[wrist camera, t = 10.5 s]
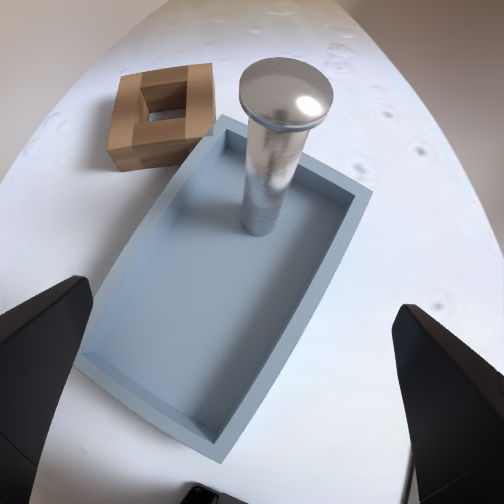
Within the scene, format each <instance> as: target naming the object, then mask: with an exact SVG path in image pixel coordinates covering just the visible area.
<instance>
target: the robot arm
mask: <svg viewBox="0 0 504 504" xmlns="http://www.w3.org/2000/svg"><path fill="white" fill-rule="evenodd" d="M92 308H93V297H92V293H91V289H90V285H89V281H88V279H87V278H86V277H84V276H77V275H74V276H72V277H70V278H68V279H66V280H64V281H62V282H60V283H58V284H56V285H55V286H53V287H51V288H49V289H47V290H45V291H43V292H41V293H40V294H38V295H36V296H34V297H32V298H30V299H29V300H27V301H25V302H23V303H21V304H20V305H18V306H16V307H14V308H12V309H11V310H9V311H7V312H5V313H4V314H2V315H0V504H29V500H30V496H31V492H32V488H33V484H34V480H35V476H36V472H37V467H38V464H39V461H40V457H41V454H42V450H43V447H44V444H45V440H46V437H47V434H48V431H49V428H50V425H51V422H52V419H53V416H54V413H55V410H56V407H57V405H58V402H59V399H60V396H61V394H62V391H63V388H64V386H65V383H66V381H67V378H68V375H69V373H70V370H71V368H72V366H73V363H74V361H75V358H76V356H77V353H78V351H79V348H80V345H81V342H82V339H83V336H84V332H85V329H86V326H87V323H88V320H89V317H90V314H91V311H92ZM392 339H393V345H394V352H395V360H396V368H397V375H398V380H399V385H400V389H401V394H402V399H403V403H404V408H405V413H406V418H407V423H408V429H409V434H410V440H411V446H412V452H413V458H414V465H415V472H416V480H417V488H418V496H419V504H504V376H503V375H502V374H501V373H500V372H499V371H497V370H496V369H495V368H494V367H493V366H492V365H490V364H489V363H488V362H487V361H486V360H484V359H483V358H482V357H481V356H480V355H478V354H477V353H476V352H475V351H474V350H472V349H471V348H470V347H469V346H467V345H466V344H465V343H464V342H463V341H461V340H460V339H459V338H458V337H456V336H455V335H454V334H453V333H451V332H450V331H449V330H448V329H446V328H445V327H444V326H443V325H441V324H440V323H439V322H437V321H436V320H435V319H434V318H432V317H431V316H430V315H428V314H427V313H426V312H425V311H423V310H422V309H421V308H419V307H418V306H417V305H415V304H403V305H402V306H401V307H400V309H399V311H398V314H397V316H396V318H395V321H394V323H393V326H392ZM196 488H200V489H201V491H197V490H196ZM179 504H248V503H245V502H243V501H241V500H238V499H236V498H234V497H232V496H229V495H227V494H225V493H219V492H217V491H215V490H213V489H211V488H209V487H207V486H205V485H203V484H200V483H196V484H194V485H193V486H192V487H191V488H190V490H189V491H188V492H187V494H186V495H185V497H184V498H183V499H182V501H181V502H180V503H179Z"/></svg>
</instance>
